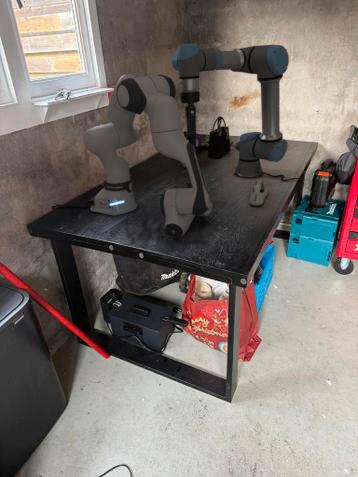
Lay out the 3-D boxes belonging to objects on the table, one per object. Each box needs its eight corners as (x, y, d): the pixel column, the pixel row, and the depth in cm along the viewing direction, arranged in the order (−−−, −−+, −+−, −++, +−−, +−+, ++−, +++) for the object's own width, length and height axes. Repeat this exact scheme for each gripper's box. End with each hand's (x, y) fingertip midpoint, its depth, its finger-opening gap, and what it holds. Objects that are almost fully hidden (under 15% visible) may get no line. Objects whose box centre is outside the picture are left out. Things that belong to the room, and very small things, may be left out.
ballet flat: (269, 188, 169) (270, 173, 165) (265, 208, 149) (266, 191, 145) (252, 187, 171) (253, 172, 167) (246, 206, 151) (247, 190, 147)
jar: (189, 210, 152) (188, 179, 144) (199, 211, 150) (198, 180, 143) (186, 214, 148) (184, 183, 140) (196, 215, 147) (195, 183, 139)
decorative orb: (204, 151, 235) (204, 129, 228) (194, 156, 225) (193, 134, 217) (186, 149, 243) (186, 128, 235) (175, 154, 232) (174, 132, 224)
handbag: (218, 159, 217) (218, 119, 204) (206, 157, 221) (205, 119, 209) (231, 151, 232) (232, 114, 219) (219, 150, 236) (220, 113, 224)
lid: (183, 147, 133) (183, 142, 132) (186, 143, 138) (186, 139, 137) (197, 147, 132) (197, 142, 131) (199, 143, 137) (199, 139, 136)
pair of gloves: (198, 151, 236) (198, 144, 233) (184, 143, 256) (183, 137, 254) (234, 145, 246) (235, 137, 243) (218, 138, 266) (218, 131, 263)
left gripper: (209, 207, 131) (215, 194, 142) (160, 204, 137) (170, 191, 148) (209, 221, 134) (215, 207, 146) (162, 217, 140) (171, 204, 151)
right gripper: (178, 88, 133) (181, 146, 144) (181, 94, 117) (185, 158, 128) (196, 87, 133) (198, 145, 144) (202, 93, 117) (204, 157, 129)
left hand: (192, 199), depth 147 cm, fingers closed on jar, 4 cm apart
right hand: (192, 151), depth 136 cm, fingers closed on lid, 5 cm apart
